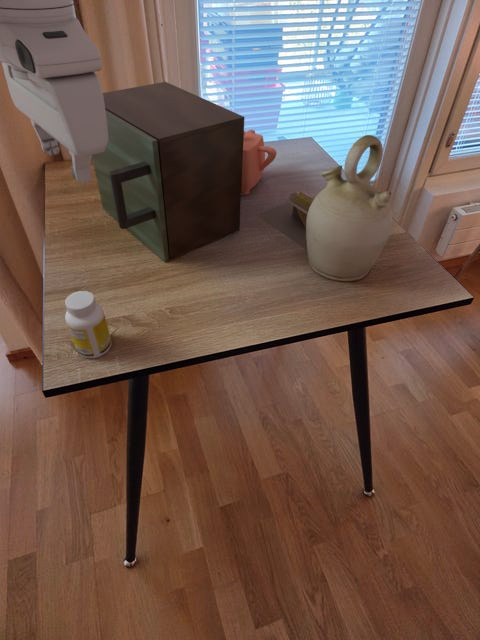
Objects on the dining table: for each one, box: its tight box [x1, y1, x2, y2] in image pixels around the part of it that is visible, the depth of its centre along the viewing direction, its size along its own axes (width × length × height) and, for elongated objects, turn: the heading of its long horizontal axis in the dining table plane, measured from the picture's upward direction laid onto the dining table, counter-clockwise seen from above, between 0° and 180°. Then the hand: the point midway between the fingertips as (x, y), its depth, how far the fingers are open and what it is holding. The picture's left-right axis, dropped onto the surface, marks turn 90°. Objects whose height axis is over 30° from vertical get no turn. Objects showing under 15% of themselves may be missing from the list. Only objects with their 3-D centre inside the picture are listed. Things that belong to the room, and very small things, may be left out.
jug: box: [306, 134, 393, 282], centre depth 75 cm, size 15×16×25 cm
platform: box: [256, 190, 315, 251], centre depth 92 cm, size 12×18×7 cm, turn 37°
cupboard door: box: [91, 110, 170, 263], centre depth 79 cm, size 8×26×23 cm, turn 40°
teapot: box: [241, 129, 277, 196], centre depth 102 cm, size 17×16×13 cm
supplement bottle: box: [64, 290, 113, 359], centre depth 62 cm, size 5×5×10 cm
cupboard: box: [103, 81, 245, 261], centre depth 85 cm, size 18×26×24 cm
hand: (66, 166), depth 53 cm, fingers open, 8 cm apart
